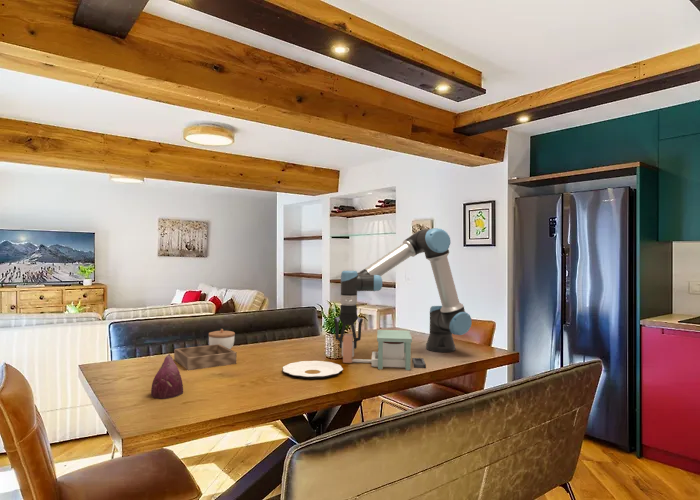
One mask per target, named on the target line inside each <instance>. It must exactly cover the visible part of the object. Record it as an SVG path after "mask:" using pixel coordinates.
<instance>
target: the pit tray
mask: <svg viewBox="0 0 700 500" xmlns="http://www.w3.org/2000/svg"><path fill="white" fill-rule="evenodd" d="M411 359H412V361H411V362H412V365H413V368H414V369H427V368H426V366H427V364H426V362H425V360H424V358H421V357H411Z"/></svg>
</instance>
